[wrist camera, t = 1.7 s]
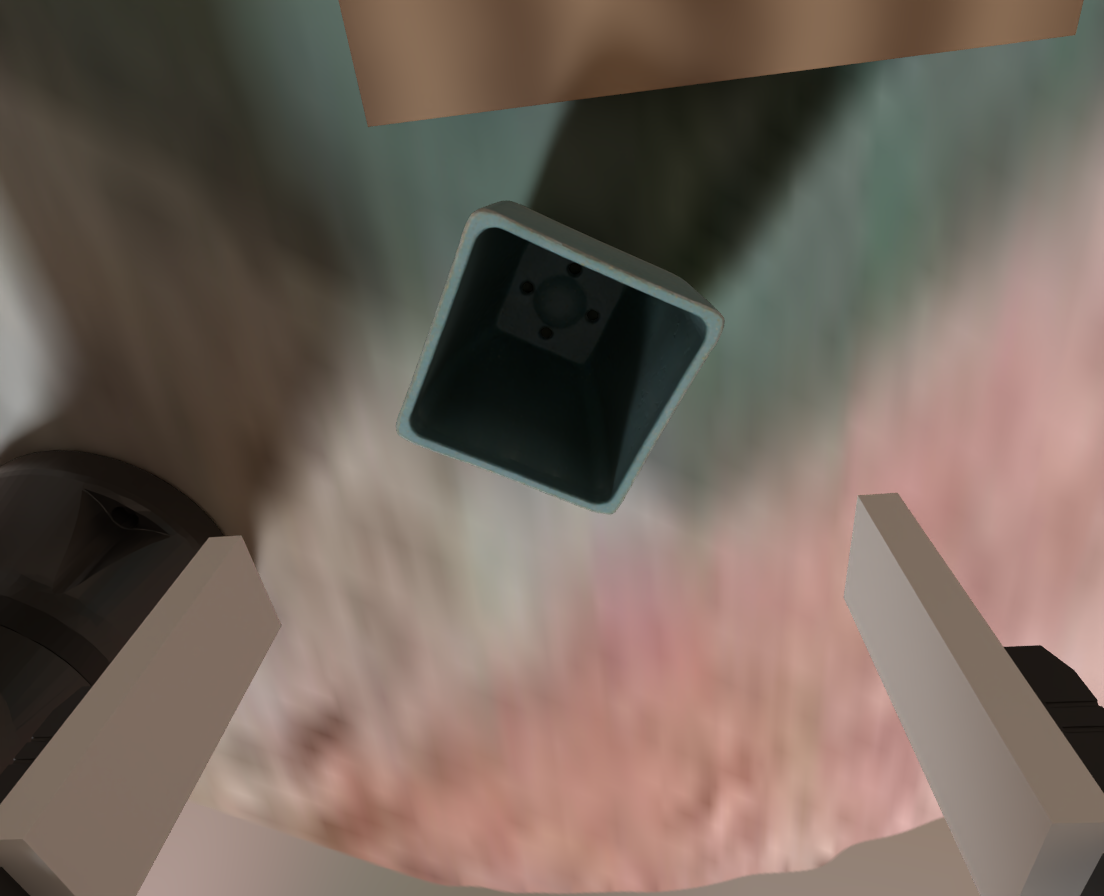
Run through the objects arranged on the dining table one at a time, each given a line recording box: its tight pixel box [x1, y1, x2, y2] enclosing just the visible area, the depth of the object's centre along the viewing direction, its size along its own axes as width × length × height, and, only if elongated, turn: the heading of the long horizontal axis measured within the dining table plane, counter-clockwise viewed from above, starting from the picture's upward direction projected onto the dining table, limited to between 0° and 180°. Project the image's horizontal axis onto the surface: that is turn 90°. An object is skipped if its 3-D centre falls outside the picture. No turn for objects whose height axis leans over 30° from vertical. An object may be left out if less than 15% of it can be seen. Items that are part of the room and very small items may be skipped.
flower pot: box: [396, 201, 725, 514], centre depth 26 cm, size 9×9×9 cm
